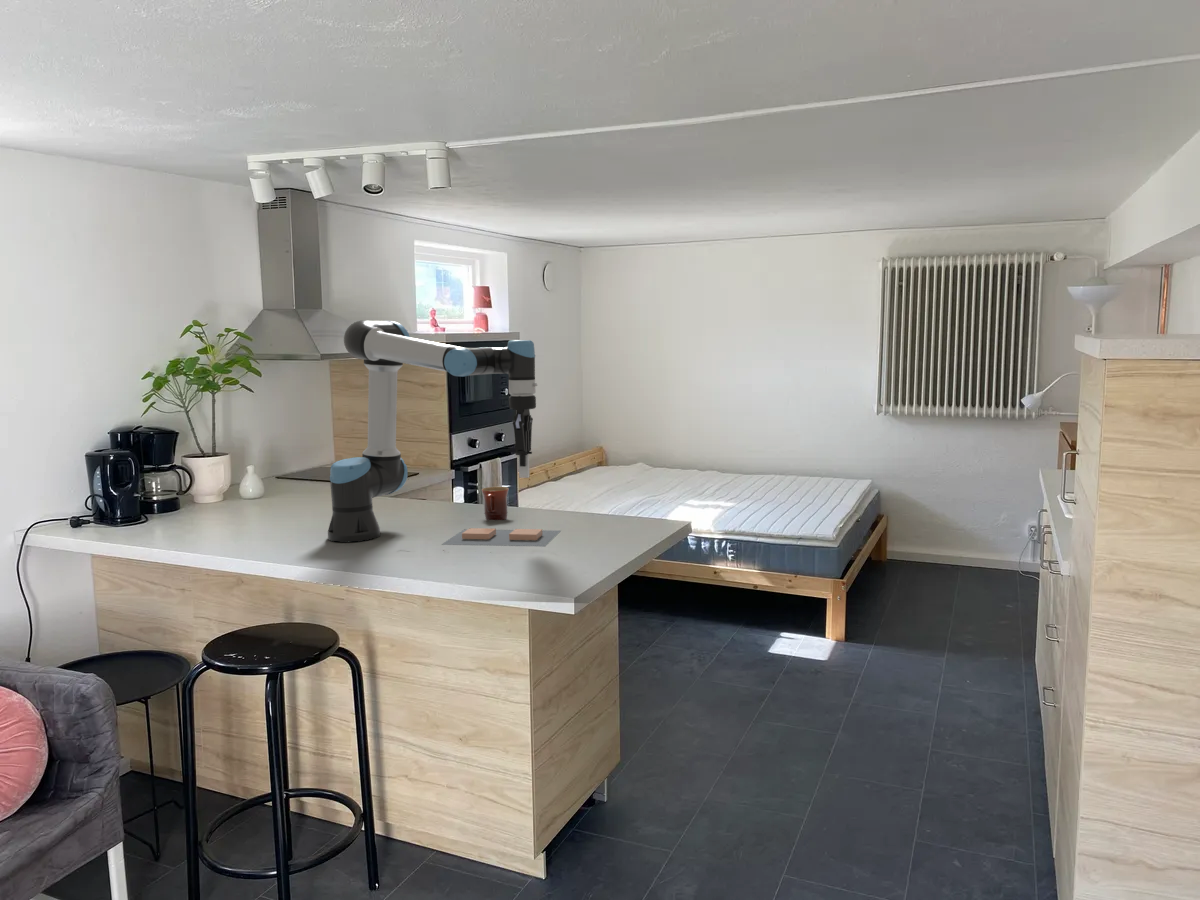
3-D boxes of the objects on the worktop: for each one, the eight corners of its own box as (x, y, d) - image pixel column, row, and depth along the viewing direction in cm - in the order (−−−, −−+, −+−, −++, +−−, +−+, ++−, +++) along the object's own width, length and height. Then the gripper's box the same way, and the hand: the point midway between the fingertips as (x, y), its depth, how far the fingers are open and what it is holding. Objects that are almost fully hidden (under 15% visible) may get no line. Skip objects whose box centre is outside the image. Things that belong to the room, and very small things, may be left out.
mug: (487, 517, 289) (486, 486, 287) (513, 517, 287) (512, 486, 286) (475, 524, 277) (474, 492, 276) (501, 525, 275) (500, 493, 274)
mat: (441, 548, 245) (441, 544, 245) (464, 532, 265) (464, 529, 265) (545, 550, 240) (545, 546, 240) (561, 534, 260) (561, 530, 260)
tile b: (515, 535, 255) (509, 540, 248) (515, 528, 255) (509, 534, 248) (542, 535, 254) (536, 540, 247) (542, 529, 253) (536, 534, 246)
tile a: (469, 534, 257) (462, 539, 251) (469, 528, 257) (461, 533, 250) (496, 534, 256) (488, 540, 249) (495, 528, 256) (488, 533, 249)
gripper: (529, 396, 240) (531, 481, 243) (540, 393, 253) (542, 473, 256) (503, 396, 241) (505, 480, 244) (515, 393, 254) (517, 473, 257)
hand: (524, 477), depth 250 cm, fingers closed
